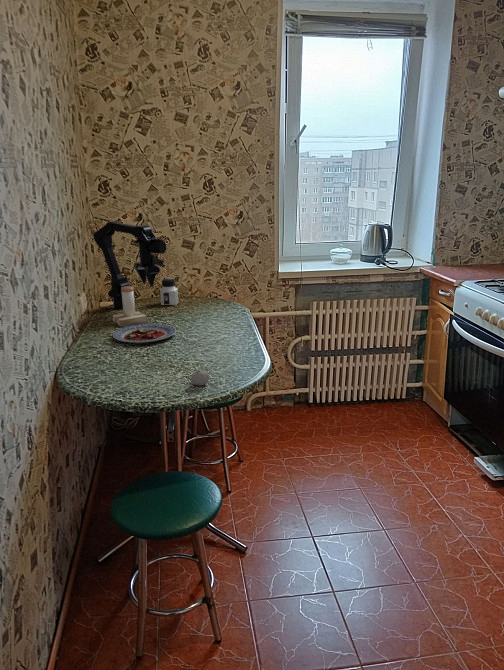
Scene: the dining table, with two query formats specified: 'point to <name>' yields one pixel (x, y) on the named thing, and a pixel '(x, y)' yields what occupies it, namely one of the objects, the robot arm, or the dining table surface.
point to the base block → (129, 319)
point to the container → (169, 292)
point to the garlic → (199, 377)
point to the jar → (128, 301)
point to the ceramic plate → (144, 333)
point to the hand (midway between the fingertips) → (148, 285)
